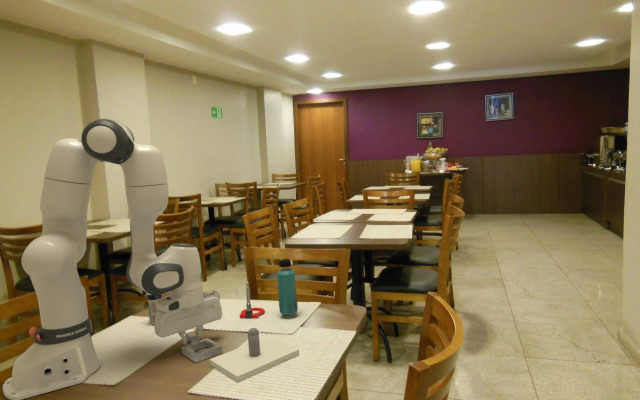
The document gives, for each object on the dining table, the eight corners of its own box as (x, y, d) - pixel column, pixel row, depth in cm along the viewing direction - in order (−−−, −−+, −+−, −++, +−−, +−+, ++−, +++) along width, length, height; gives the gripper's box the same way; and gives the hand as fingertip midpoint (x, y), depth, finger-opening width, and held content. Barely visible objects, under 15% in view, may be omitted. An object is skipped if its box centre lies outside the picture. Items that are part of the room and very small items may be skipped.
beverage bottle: (297, 319, 152) (294, 261, 150) (278, 319, 153) (274, 262, 150) (298, 312, 159) (295, 257, 157) (280, 313, 159) (276, 257, 157)
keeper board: (237, 382, 112) (235, 347, 111) (210, 364, 122) (207, 333, 121) (299, 354, 125) (297, 323, 124) (269, 341, 136) (267, 312, 135)
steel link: (176, 349, 133) (174, 336, 132) (201, 340, 138) (200, 328, 138) (195, 362, 124) (194, 348, 123) (222, 352, 129) (221, 339, 129)
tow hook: (245, 310, 165) (237, 318, 156) (243, 276, 164) (235, 282, 155) (267, 310, 164) (260, 318, 155) (265, 275, 163) (258, 282, 154)
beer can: (167, 321, 157) (164, 288, 155) (155, 326, 153) (152, 292, 151) (158, 319, 159) (155, 287, 158) (146, 324, 155) (143, 290, 154)
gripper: (214, 286, 142) (217, 328, 143) (150, 303, 128) (154, 350, 129) (224, 290, 137) (227, 333, 139) (159, 308, 123) (163, 356, 125)
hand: (191, 341), depth 134 cm, fingers closed on steel link, 2 cm apart
